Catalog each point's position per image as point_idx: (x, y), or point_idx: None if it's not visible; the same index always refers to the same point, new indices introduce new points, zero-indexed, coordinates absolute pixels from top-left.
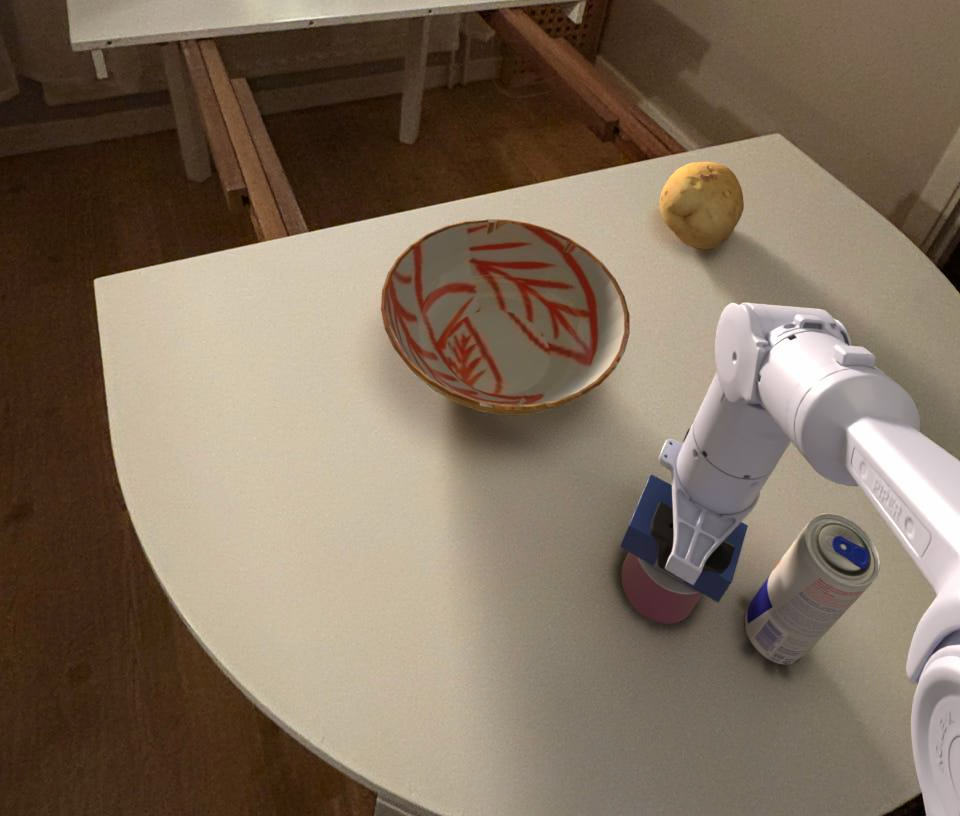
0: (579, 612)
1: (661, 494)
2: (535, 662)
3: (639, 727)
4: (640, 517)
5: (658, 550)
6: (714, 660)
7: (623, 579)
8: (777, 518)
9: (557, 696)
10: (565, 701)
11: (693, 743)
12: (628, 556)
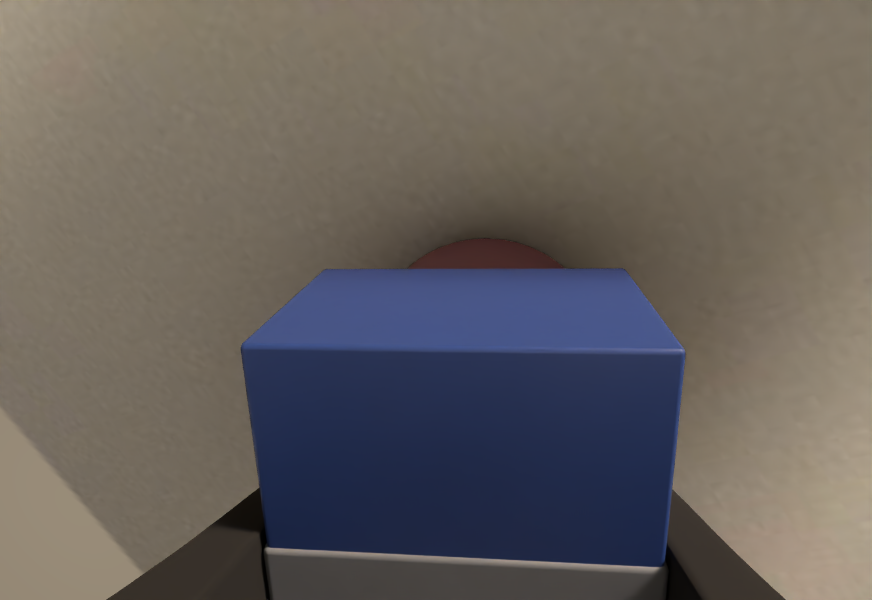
0: (275, 178)
1: (565, 455)
2: (89, 126)
3: (147, 406)
4: (328, 391)
5: (161, 562)
6: None
7: (421, 260)
8: (863, 586)
9: (67, 215)
10: (73, 237)
11: (199, 509)
12: (443, 268)
